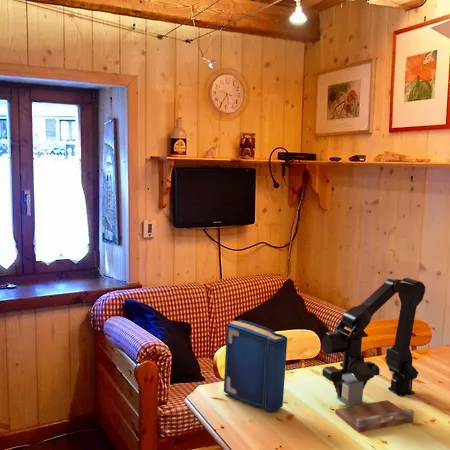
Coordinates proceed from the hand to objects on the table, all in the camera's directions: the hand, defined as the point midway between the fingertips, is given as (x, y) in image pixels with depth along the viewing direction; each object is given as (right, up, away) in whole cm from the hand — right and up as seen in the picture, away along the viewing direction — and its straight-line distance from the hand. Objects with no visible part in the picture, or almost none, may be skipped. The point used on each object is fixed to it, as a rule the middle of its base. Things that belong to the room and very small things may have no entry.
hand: (349, 395), depth 171 cm
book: (-32, -2, -1) cm, 32 cm away
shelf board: (+5, -3, -10) cm, 12 cm away
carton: (0, -2, 0) cm, 2 cm away
